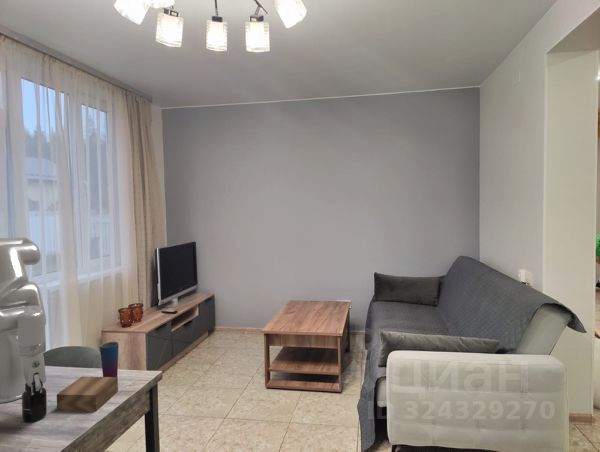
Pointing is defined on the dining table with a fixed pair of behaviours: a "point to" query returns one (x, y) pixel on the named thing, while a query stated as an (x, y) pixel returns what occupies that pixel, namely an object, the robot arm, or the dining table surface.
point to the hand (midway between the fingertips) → (34, 400)
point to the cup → (109, 359)
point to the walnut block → (87, 394)
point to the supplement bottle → (37, 411)
